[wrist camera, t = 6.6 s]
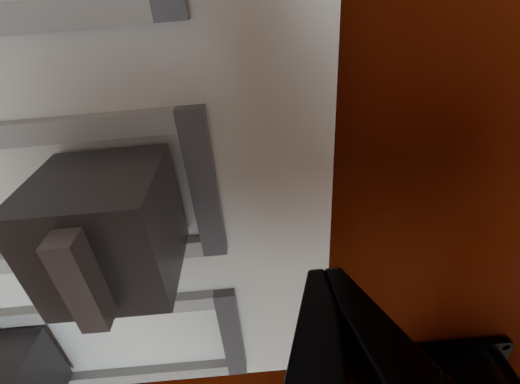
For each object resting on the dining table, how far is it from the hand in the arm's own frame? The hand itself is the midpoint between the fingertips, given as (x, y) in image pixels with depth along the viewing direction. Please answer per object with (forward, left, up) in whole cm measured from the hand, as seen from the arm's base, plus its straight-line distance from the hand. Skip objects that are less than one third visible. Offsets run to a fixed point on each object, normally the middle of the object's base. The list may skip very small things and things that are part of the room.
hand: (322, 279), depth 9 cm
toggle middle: (+7, 0, -5) cm, 8 cm away
